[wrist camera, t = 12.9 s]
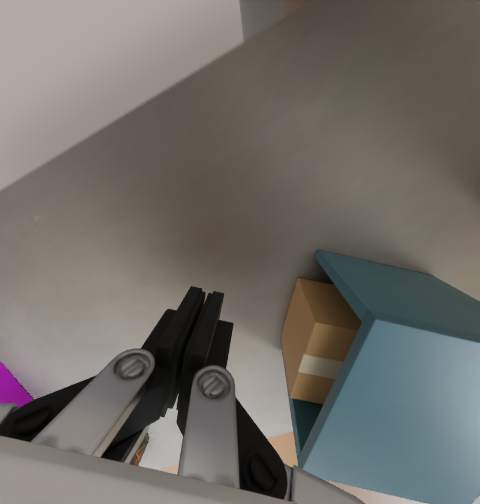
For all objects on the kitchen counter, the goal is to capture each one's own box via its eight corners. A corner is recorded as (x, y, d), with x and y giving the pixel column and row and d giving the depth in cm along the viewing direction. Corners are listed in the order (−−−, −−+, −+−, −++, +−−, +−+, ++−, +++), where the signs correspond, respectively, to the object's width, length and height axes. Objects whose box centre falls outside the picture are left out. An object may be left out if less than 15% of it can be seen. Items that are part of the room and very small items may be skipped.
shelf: (281, 351, 24) (299, 474, 14) (317, 249, 20) (375, 318, 10) (378, 373, 24) (464, 512, 14) (432, 275, 20) (604, 370, 10)
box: (279, 336, 24) (289, 398, 17) (297, 277, 21) (315, 322, 15) (345, 349, 23) (381, 417, 17) (370, 291, 21) (421, 343, 15)
